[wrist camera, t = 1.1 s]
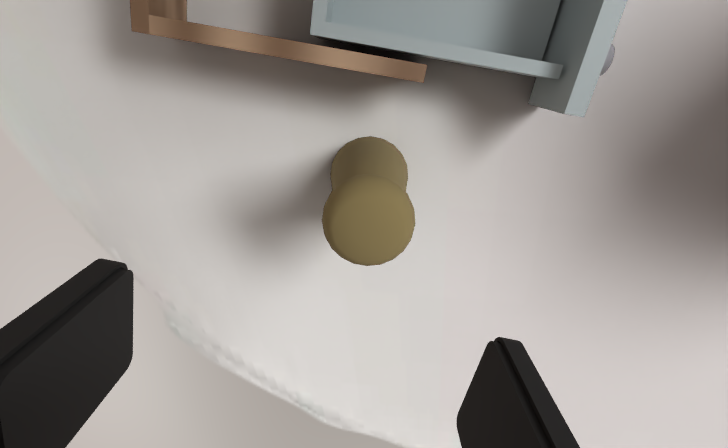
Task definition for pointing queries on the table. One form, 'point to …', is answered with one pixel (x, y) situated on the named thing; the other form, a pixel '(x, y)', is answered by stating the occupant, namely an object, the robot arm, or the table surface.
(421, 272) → the table surface
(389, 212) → the cork
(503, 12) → the tray
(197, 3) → the table surface
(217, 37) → the frame
